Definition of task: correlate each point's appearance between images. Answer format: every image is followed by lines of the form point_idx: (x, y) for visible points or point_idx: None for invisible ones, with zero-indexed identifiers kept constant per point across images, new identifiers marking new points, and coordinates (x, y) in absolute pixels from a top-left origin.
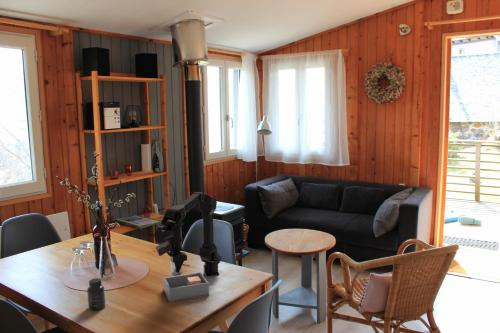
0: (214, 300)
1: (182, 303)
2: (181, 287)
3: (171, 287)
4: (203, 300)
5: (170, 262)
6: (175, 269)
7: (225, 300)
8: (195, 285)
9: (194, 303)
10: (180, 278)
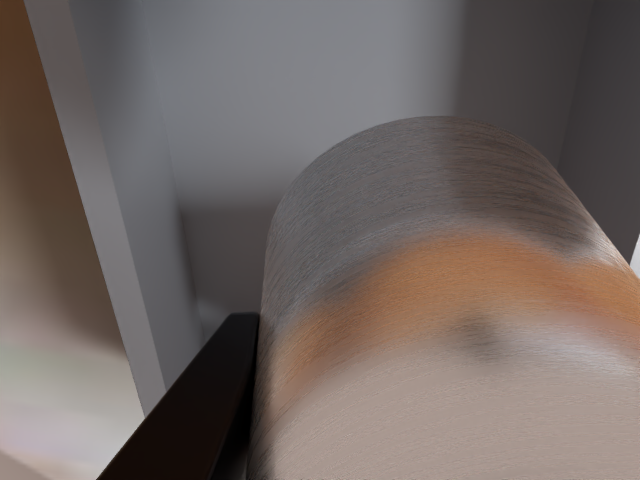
0: (64, 399)
1: (27, 89)
2: (82, 195)
3: (589, 30)
4: (82, 320)
5: (569, 472)
6: (256, 363)
7: (50, 465)
8: (137, 385)
9: (11, 226)
10: (607, 235)
